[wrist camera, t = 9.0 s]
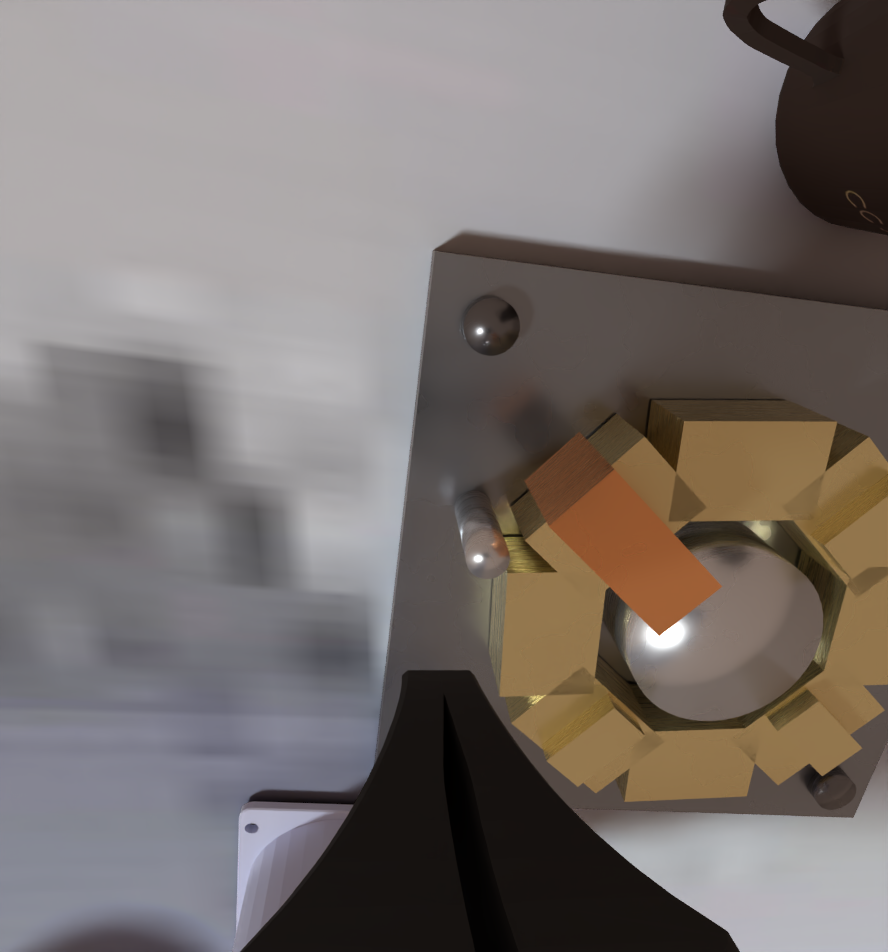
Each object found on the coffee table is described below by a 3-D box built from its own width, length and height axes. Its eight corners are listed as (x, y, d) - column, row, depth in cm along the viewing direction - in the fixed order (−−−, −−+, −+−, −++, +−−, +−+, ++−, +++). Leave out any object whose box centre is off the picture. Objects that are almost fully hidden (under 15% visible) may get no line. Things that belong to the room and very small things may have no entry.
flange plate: (837, 798, 28) (916, 897, 24) (372, 780, 26) (368, 887, 22) (1038, 329, 22) (1195, 354, 17) (432, 250, 19) (444, 256, 15)
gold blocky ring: (710, 270, 19) (826, 286, 14) (947, 587, 24) (1099, 685, 18) (378, 572, 22) (374, 676, 17) (649, 804, 26) (711, 942, 21)
